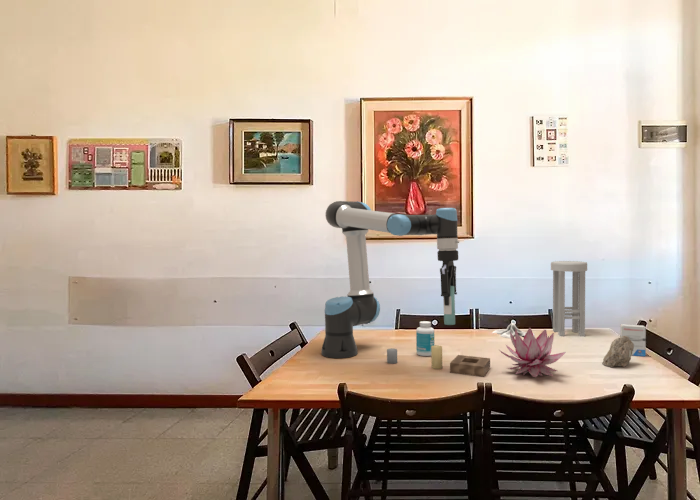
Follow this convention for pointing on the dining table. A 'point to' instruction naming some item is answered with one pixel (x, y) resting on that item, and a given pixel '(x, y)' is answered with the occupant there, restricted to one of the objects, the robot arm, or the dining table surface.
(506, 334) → the cloth
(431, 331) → the pill bottle
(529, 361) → the decorative flower
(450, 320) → the long pin
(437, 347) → the medium pin
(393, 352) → the short pin
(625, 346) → the rock
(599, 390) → the dining table surface
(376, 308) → the robot arm
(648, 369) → the dining table surface
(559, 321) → the stool
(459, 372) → the socket block
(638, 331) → the ink box
